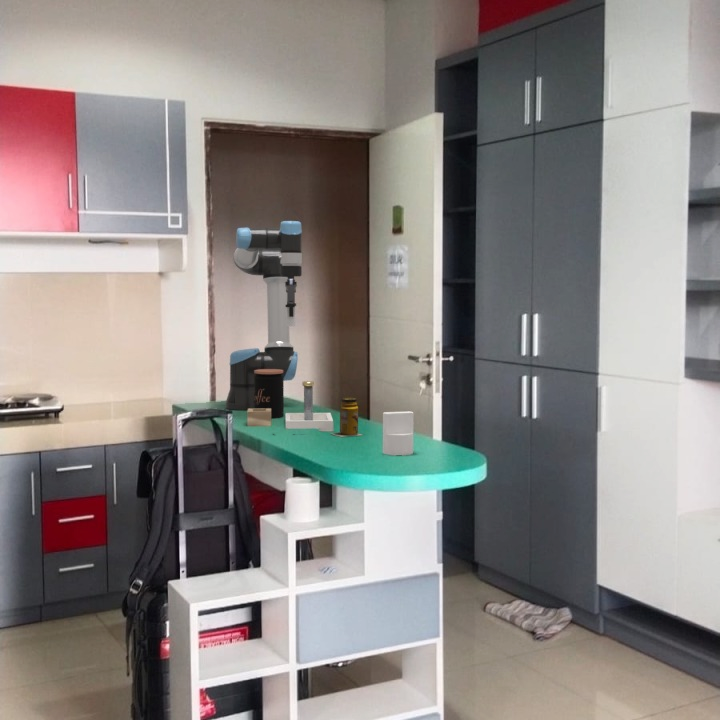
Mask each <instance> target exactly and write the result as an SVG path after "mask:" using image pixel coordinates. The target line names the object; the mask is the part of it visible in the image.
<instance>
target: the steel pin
mask: <svg viewBox="0 0 720 720" xmlns="http://www.w3.org/2000/svg"><path fill="white" fill-rule="evenodd" d="M301 385H302V386H303V413H304V420H313V413H314V409H313V408H314V401H313V400H314V399H313V398H314V396H313V395H314V394H313V393H314V390H313V389H314V386H315V381H313V380H312V381H311V380H310V381H309V380H307V381H306V380H305V381H302V384H301Z"/></svg>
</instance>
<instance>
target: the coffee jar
mask: <svg viewBox="0 0 720 720" xmlns="http://www.w3.org/2000/svg"><path fill="white" fill-rule="evenodd" d="M254 373H255V374H256V375H255V377H254V409H257V408H271V420H272V419H281V418H283V417H284V416H285V415H284V413H285V411H284V407H285V406H284V404H285V403H284V392H285V391H284V390H285V389H284V378H283V376H282V374H283V370H280V369H258V370H254Z"/></svg>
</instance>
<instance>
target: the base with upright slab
mask: <svg viewBox="0 0 720 720" xmlns="http://www.w3.org/2000/svg"><path fill="white" fill-rule="evenodd" d="M382 454H384V455H387V456H396V455H402V456H410V455H413V454H414V412H413V411H411V410H410V411H409V410H408V411H386V412H385V411H384V412H383V413H382Z"/></svg>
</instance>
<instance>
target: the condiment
mask: <svg viewBox="0 0 720 720" xmlns="http://www.w3.org/2000/svg"><path fill="white" fill-rule="evenodd" d="M340 401H341V403H340V406H339V432H330V435H333V436H336V437H340V438H343V437H356V436H363V434H362V433H359V407H358V399H357V397H356V398H355V397H343V398H341V399H340Z"/></svg>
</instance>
